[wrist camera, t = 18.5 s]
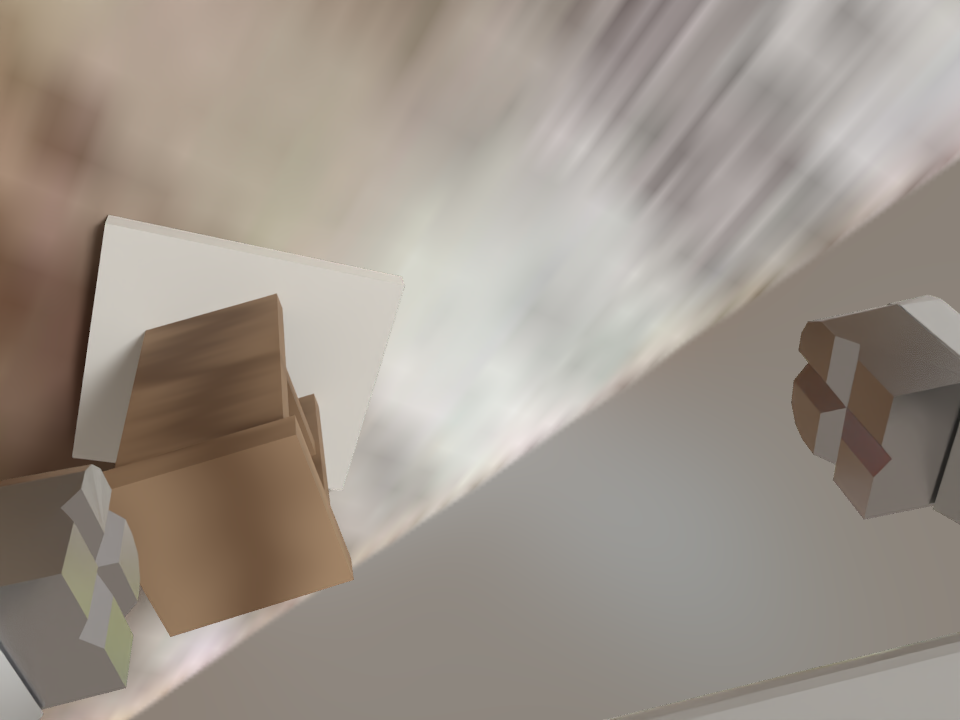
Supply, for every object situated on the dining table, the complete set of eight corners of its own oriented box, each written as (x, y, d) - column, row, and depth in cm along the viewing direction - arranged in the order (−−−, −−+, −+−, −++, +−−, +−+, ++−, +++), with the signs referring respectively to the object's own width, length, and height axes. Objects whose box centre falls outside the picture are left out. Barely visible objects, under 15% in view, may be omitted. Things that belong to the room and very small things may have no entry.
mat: (75, 445, 43) (72, 457, 42) (108, 214, 38) (105, 223, 37) (340, 479, 47) (342, 490, 46) (401, 276, 42) (404, 285, 41)
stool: (190, 450, 43) (170, 636, 33) (131, 327, 39) (88, 496, 29) (330, 408, 43) (353, 579, 33) (285, 284, 40) (296, 434, 30)
